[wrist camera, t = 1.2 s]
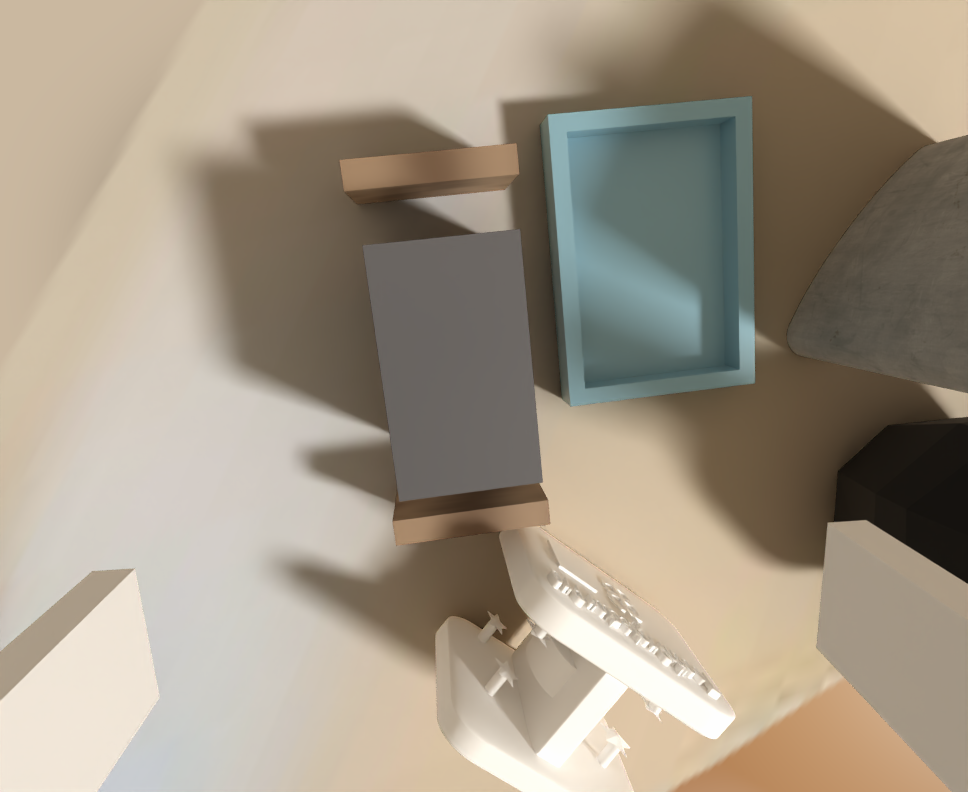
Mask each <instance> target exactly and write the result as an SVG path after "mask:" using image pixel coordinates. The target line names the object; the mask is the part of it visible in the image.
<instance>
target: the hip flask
mask: <svg viewBox="0 0 968 792" xmlns="http://www.w3.org/2000/svg"><path fill="white" fill-rule="evenodd" d="M787 341H788V345H789V347H790V348H791V350H792V351H793V352H794V353H795V354H797V355H799V356H803V357H807V358H812V359H816V360H821V361H825V362H830V363H834V364H839V365H843V366H848V367H852V368H857V369H861V370H866V371H870V372H875V373H879V374H884V375H888V376H893V377H897V378H902V379H906V380H911V381H915V382H920V383H924V384H929V385H933V386H938V387H942V388H947V389H951V390H956V391H960V392H965V393H968V135H966V136H962V137H958V138H954V139H950V140H946V141H942V142H938V143H934V144H930V145H927V146H924V147H922V148H921V149H919V150H918V151H917V152H916V153H915V154H914V155H913V156H912V157H911V158H910V159H909V160H908V161H906V162H905V163H904V164H903V165H902V166H901V167H900V168H899V169H898V170H897V171H896V172H895V174H894V175H893V176H892V177H891V178H890V179H889V180H888V181H887V182H886V183H885V184H884V185H883V186H882V188H881V189H880V190H879V191H878V192H877V193H876V194H875V196H874V197H873V198H872V199H871V200H870V201H869V203H868V204H867V205H866V206H865V207H864V209H863V210H862V211H861V212H860V214H859V215H858V216H857V217H856V219H855V220H854V221H853V223H852V224H851V225H850V227H849V228H848V229H847V231H846V232H845V233H844V235H843V236H842V238H841V239H840V240H839V242H838V243H837V245H836V246H835V247H834V249H833V250H832V252H831V253H830V255H829V256H828V258H827V259H826V261H825V262H824V264H823V265H822V267H821V268H820V270H819V272H818V273H817V275H816V276H815V278H814V280H813V281H812V283H811V285H810V287H809V288H808V290H807V292H806V293H805V295H804V297H803V299H802V301H801V303H800V305H799V307H798V309H797V310H796V312H795V315H794V317H793V319H792V321H791V323H790V325H789V327H788V331H787Z"/></svg>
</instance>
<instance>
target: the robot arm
mask: <svg viewBox="0 0 968 792" xmlns="http://www.w3.org/2000/svg"><path fill="white" fill-rule="evenodd" d="M816 648H817V649H818V650H819V651H820V652H821V653H822V654H823V655H824V656H825V658H826V659H827V660H828V661H829V662H830V663H831V664H832V665H833V666H834V667H835V668H836V669H837V670H838V671H839V672H840V673H841V675H842V676H843V677H844V678H845V679H846V680H847V681H848V682H849V683H850V684H851V685H852V686H853V687H854V688H855V689H856V690H857V691H858V693H859V694H860V695H861V696H862V697H863V698H864V699H865V700H866V701H867V702H868V703H869V704H870V705H871V706H872V707H873V709H874V710H875V711H876V712H877V713H878V714H879V715H880V716H881V717H882V718H883V719H884V720H885V721H886V722H887V723H888V724H889V726H890V727H891V728H892V729H893V730H894V731H895V732H896V733H897V734H898V735H899V736H900V737H901V738H902V739H903V740H904V741H905V743H907V745H908V746H909V747H910V748H911V749H912V750H913V751H914V752H915V753H916V754H917V755H918V756H919V757H920V758H921V760H922V761H923V762H924V763H925V764H926V765H927V766H928V767H929V768H930V769H931V770H932V771H933V772H934V773H935V774H936V775H937V777H939V779H940V780H941V781H942V782H943V783H944V784H945V785H946V786H947V787H948V788H949V789H950V790H951V791H952V792H968V584H967V583H965V582H964V581H962V580H961V579H959V578H957V577H956V576H954V575H953V574H951V573H949V572H948V571H946V570H945V569H943V568H941V567H940V566H938V565H937V564H935V563H933V562H932V561H930V560H929V559H927V558H926V557H924V556H922V555H921V554H919V553H918V552H916V551H914V550H913V549H911V548H910V547H908V546H906V545H905V544H903V543H902V542H900V541H898V540H897V539H895V538H894V537H892V536H891V535H889V534H887V533H886V532H884V531H883V530H881V529H879V528H878V527H876V526H875V525H873V524H871V523H870V522H868V521H867V520H860V521H845V522H830V523H828V525H827V536H826V547H825V558H824V569H823V580H822V591H821V602H820V613H819V624H818V635H817V645H816ZM159 698H160V696H159V691H158V686H157V681H156V675H155V670H154V665H153V660H152V655H151V649H150V644H149V639H148V634H147V629H146V623H145V618H144V613H143V608H142V603H141V597H140V592H139V587H138V582H137V577H136V571H135V569H121V570H106V571H92V572H91V573H90V574H89V575H88V576H86V577H85V578H84V579H83V580H82V581H81V582H80V583H78V584H77V585H76V586H75V587H74V588H73V589H72V590H70V591H69V592H68V593H67V594H66V595H65V596H64V597H62V598H61V599H60V600H59V601H58V602H57V603H56V604H54V605H53V606H52V607H51V608H50V609H49V610H48V611H46V612H45V613H44V614H43V615H42V616H41V617H40V618H38V619H37V620H36V621H35V622H34V623H33V624H31V625H30V626H29V627H28V628H27V629H26V630H25V631H23V632H22V633H21V634H20V635H19V636H18V637H17V638H15V639H14V640H13V641H12V642H11V643H10V644H9V645H7V646H6V647H5V648H4V649H3V650H2V651H1V652H0V792H97V791H98V790H99V788H100V787H101V785H102V784H103V782H104V781H105V779H106V778H107V776H108V775H109V773H110V772H111V770H112V769H113V767H114V766H115V764H116V763H117V761H118V760H119V758H120V757H121V755H122V753H123V752H124V750H125V749H126V747H127V746H128V744H129V743H130V741H131V740H132V738H133V737H134V735H135V734H136V732H137V731H138V729H139V728H140V726H141V725H142V723H143V722H144V720H145V719H146V717H147V716H148V714H149V713H150V711H151V710H152V708H153V707H154V705H155V704H156V702H157V701H158V699H159Z"/></svg>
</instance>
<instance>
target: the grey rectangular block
mask: <svg viewBox="0 0 968 792" xmlns="http://www.w3.org/2000/svg"><path fill="white" fill-rule="evenodd" d="M363 253H364V260H365V267H366V273H367V280H368V287H369V294H370V301H371V308H372V315H373V322H374V329H375V336H376V343H377V350H378V357H379V364H380V371H381V378H382V385H383V392H384V399H385V405H386V412H387V419H388V426H389V433H390V440H391V447H392V454H393V461H394V468H395V475H396V482H397V489H398V496H399V502H401V501H408V500H416V499H423V498H431V497H438V496H446V495H453V494H461V493H468V492H475V491H483V490H490V489H498V488H505V487H513V486H520V485H528V484H535V483H543V479H542V468H541V457H540V446H539V435H538V424H537V413H536V401H535V390H534V379H533V368H532V357H531V346H530V335H529V324H528V312H527V301H526V290H525V279H524V268H523V257H522V246H521V234H520V229H516V230H507V231H497V232H487V233H478V234H468V235H459V236H449V237H439V238H430V239H420V240H411V241H401V242H391V243H382V244H372V245H363Z"/></svg>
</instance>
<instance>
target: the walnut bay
mask: <svg viewBox="0 0 968 792" xmlns="http://www.w3.org/2000/svg"><path fill="white" fill-rule="evenodd" d="M339 161H340V168H341V174H342V181H343V188H344V192H345V193H346V194H347V195H348V196H349V197H350V198H351V199H352V200H353V201H354V202H355V203H356V204H366V203H376V202H386V201H396V200H406V199H416V198H426V197H436V196H447V195H457V194H467V193H477V192H487V191H497V190H505V189H506V188H507V187H508V186H509V185H510V183H511V182H512V181H513V180H514V179H515V178H516V177H517V176H518V175H519V164H518V153H517V143H514V144H503V145H493V146H482V147H471V148H461V149H450V150H439V151H429V152H418V153H408V154H397V155H386V156H376V157H365V158H354V159H344V160H339ZM548 524H550V515H549V504H548V499H547V497H546V495H545V493H544V491H543V490H542V488H541V486H540V484H539V483H535V484H528V485H520V486H513V487H505V488H498V489H490V490H483V491H475V492H468V493H461V494H453V495H446V496H438V497H431V498H423V499H416V500H408V501H401V502H399V496H398V489H397V494H396V501H395V508H394V516H393V527H394V534H395V540H396V546H398V545H405V544H412V543H419V542H426V541H433V540H441V539H448V538H455V537H462V536H469V535H477V534H484V533H491V532H498V531H505V530H512V529H520V528H527V527H534V526H541V525H548Z"/></svg>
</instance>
